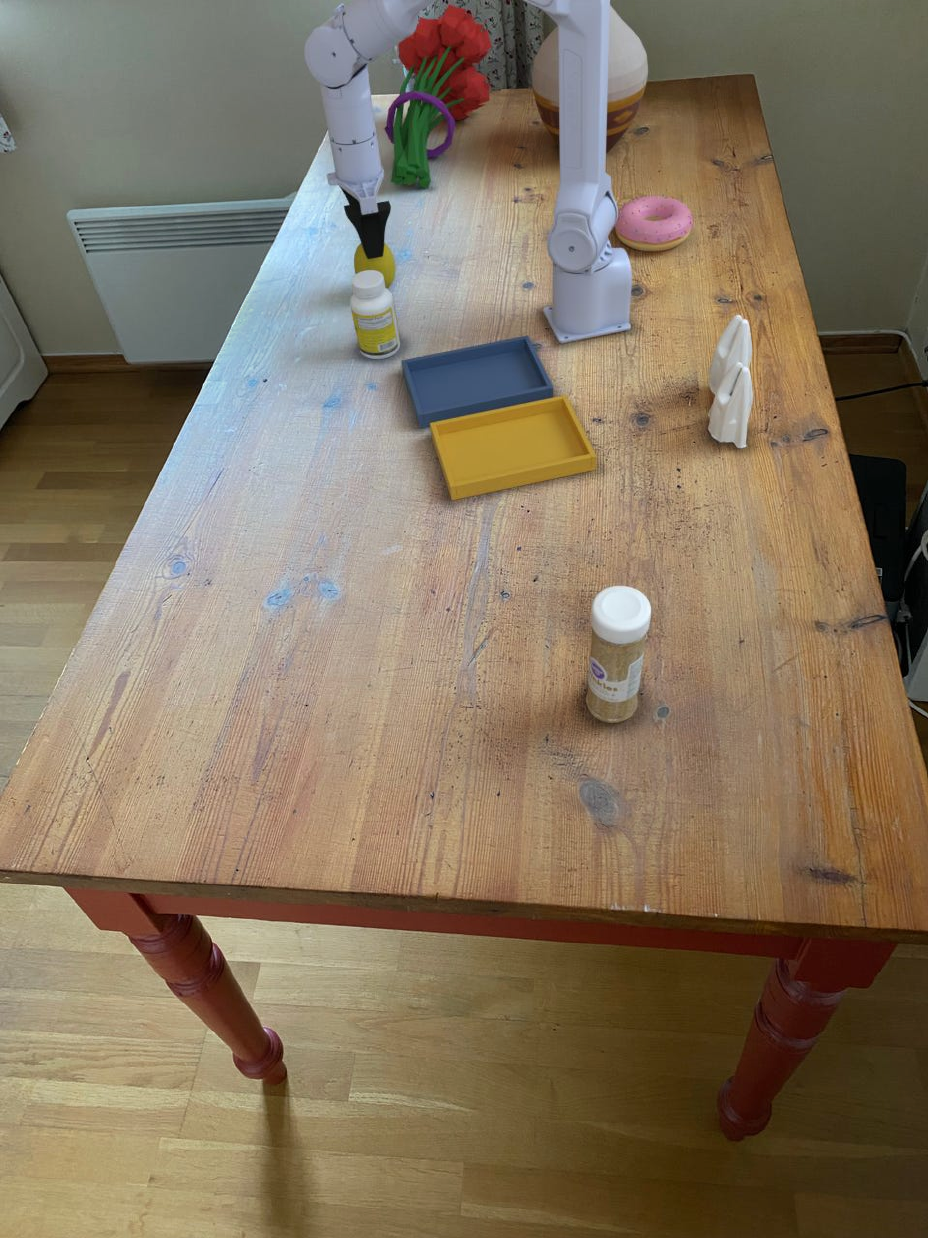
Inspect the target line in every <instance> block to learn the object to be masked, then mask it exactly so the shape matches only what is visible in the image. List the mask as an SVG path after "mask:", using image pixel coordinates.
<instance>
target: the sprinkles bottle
mask: <svg viewBox="0 0 928 1238" xmlns="http://www.w3.org/2000/svg"><path fill="white" fill-rule="evenodd" d="M651 616H652V606H651V603H650V601H649V599H648V598H647V596H646V595H645V594H644V593H643V592H642V591H640V590H638V589H636V588H634V587H632V586H627V585H613V586H609V587H606V588H604V589H602V590H601V591H599V592H598V593H597V594H596V596H594V598H593V599H592V602H591V608H590V618H589V619H590V620H589V621H590V626H591V639H590V643H591V644H590V654H589V659H588V667H587V668H588V669H587V692H586V695H585V703H586V704H585V705H586V707H587V709H588V711H589V712H590V714H591V715H592V716H593V717H594V718H596V719H597V720H598V721H601V722H604V723H609V724H614V723H616V724H617V723H621V722H624V721H627V720H628V719H630V718H631V717H633V715H634V713H635V712H636V710H637V708H638V703H639V702H638V701H639V700H638V693H639V689H640V686H641V685H640V683H641V677H642V671H643V663H644V656H645V649H646V648H645V647H646V636H647V632H648V631H649V629H650V624H651Z"/></svg>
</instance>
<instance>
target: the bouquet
mask: <svg viewBox="0 0 928 1238" xmlns="http://www.w3.org/2000/svg"><path fill="white" fill-rule="evenodd" d="M483 27H484V25H483V24H480V23H476V21H475V19H474V17H473V13H472V12H469V13H467V9H466V8H462V7H458V6H454V5H453V4H450V3H449V4H448V5H447V7H446V9H445V11H444V14H443V16H442V17H441V16H439V17H438V18H425V17H420V18H418V23H417V28H416V30H415V32H414V33H413V34H412V35H410V36H409V37H407V38H406V39H404V40H403V41H402V42H400V43H399V44H397V48H398V59H399V61H400V62H401V63H402V65H403V67H404V68H405V70H407V71H408V73H407V74H406V76H405V79H404V80H403V83H402V84H401V86H400V90H399V95H398V96H397V97H396V98H395V99H394V100H393V101H392V103H391V104H390V106H389V108H388V111H387V116H386V122H385V123H386V124H385V125H386V126H385V127H384V131H385V134H386V136H387V138H388V140H389V141H390V143H391V144H393V156H394V158H393V166H392V172H391V177H390V182H392V183H393V184H395V185H403V184H404V185H406V186H407V185H408V186H411V185H413V184H415V183H416V180H417V181H418V184H419V186H420V188H423V189H424V188H425V189H429V187H430V185H431V181H432V179H431V173H430V167H429V161H428V158H429V159H430V158H433V157H437V156H439V155H441V154H442V153H445V152H446V150H447V149H449V147H450V146H452V144H453V137H454V131H455V127H456V126H455V125H456V121H461V120H464V119H466V118H468V117H470V113H473V112H474V111H476V110H479V109H480V108H481V107H483V106H487V104H485V103H488V102H489V101H490V88H491V82H486V80H487V79H488V77H487V76H485V75H483V74H481V73H479V72H478V71H477V70H476V64H480V62H482V60H484V58H485V57H486V56H487V55H488V54H489V52H491V51H492V50H491V48H492V47H493V45H492V42H491V39H490V35H489V30H488V28H485V29H484V30H482V29H483ZM473 64H475V65H473ZM413 74H414V75H415V77H416V78H415V81H414V85H413V87H412V90H411V91H406V89H407V86H408V84H409V83H410V80H411V78H412V75H413ZM408 102H409V105H408V107H407V112H406V114H405V117H404V108H405V104H406V103H408ZM403 118H404V120H403ZM444 118H445V119H446V133H447V134H446V136H445V137H446V138H445V139H444V142H442V143H441V144H440V145H438V146H436V147H435V148H433V149H429V148H428V149H427V145H428V139H429V136H430V133H431V132H432V130H433V129H435V127H437V126H438V124H439V123H441V121H442V120H443V119H444Z"/></svg>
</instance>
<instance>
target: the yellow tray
mask: <svg viewBox="0 0 928 1238" xmlns="http://www.w3.org/2000/svg"><path fill="white" fill-rule="evenodd" d="M429 428H430V434H431V439H432V442H433V446H434V448H435V451H436V455H437V459H438V461H439V464H440V465H439V466H440V468H441V471H442V474H443V478H444V480H445V483H446V487H447V490H448V494H449V496H450V500H451V501H456V500H461V499H466V498H470V497H475V496H480V495H484V494H488V493H493V492H498V491H502V490H507V489H512V488H516V487H517V488H518V487H521V486H527V485H531V484H535V483H540V482H546V481H550V480H555V479H559V478H564V477H568V476H572V475H578V474H582V473H588V472H592V471H596V469H597V454H596V452H595V450H594V448H593V445H592V444H591V442H590V440H589V438H588V436H587V434H586V432H585V430H584V428H583V426H582V423H581V421H580V420H579V418H578V416H577V414H576V412H575V410H574V407H573V405H572V404H571V402H570V400H569V398H568V395H566V394H564V395H559V396H553V398H549V399H544V400H539V401H534V402H529V403H524V404H520V405H515V406H510V407H505V408H500V409H495V410H491V411H486V412H481V413H476V414H471V415H466V416H461V417H457V418H452V419H447V420H442V421H437V422H433V423H430V427H429Z"/></svg>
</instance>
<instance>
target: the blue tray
mask: <svg viewBox="0 0 928 1238" xmlns="http://www.w3.org/2000/svg"><path fill="white" fill-rule="evenodd" d="M400 362H401V367H402V374H403V377H404V381H405V384H406V388H407V391H408V394H409V397H410V400H411V404H412V407H413V410H414V413H415V416H416V420H417V423H418V426H419V429H425V428H430V423H433V422H437V421H442V420H447V419H452V418H457V417H461V416H466V415H471V414H476V413H481V412H486V411H491V410H495V409H500V408H505V407H510V406H515V405H520V404H524V403H529V402H534V401H539V400H544V399H549V398H554V385H553V383H552V382H551V380H550V378H549V376H548V373H547V371H546V369H545V367H544V365H543V363H542V360H541V358H540V357H539V355H538V352H537V351H536V349H535V347H534V344H533V343H532V340H531V338H530V336H529V335H528V334H527V335H523V336H517V337H511V338H505V339H502V340H497V341H491V342H487V343H481V344H477V345H471V346H466V347H461V348H457V349H452V350H447V351H442V352H441V351H440V352H436V353H432V354H426V355H422V356H417V357H412V358H407V359H402V360H400Z"/></svg>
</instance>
